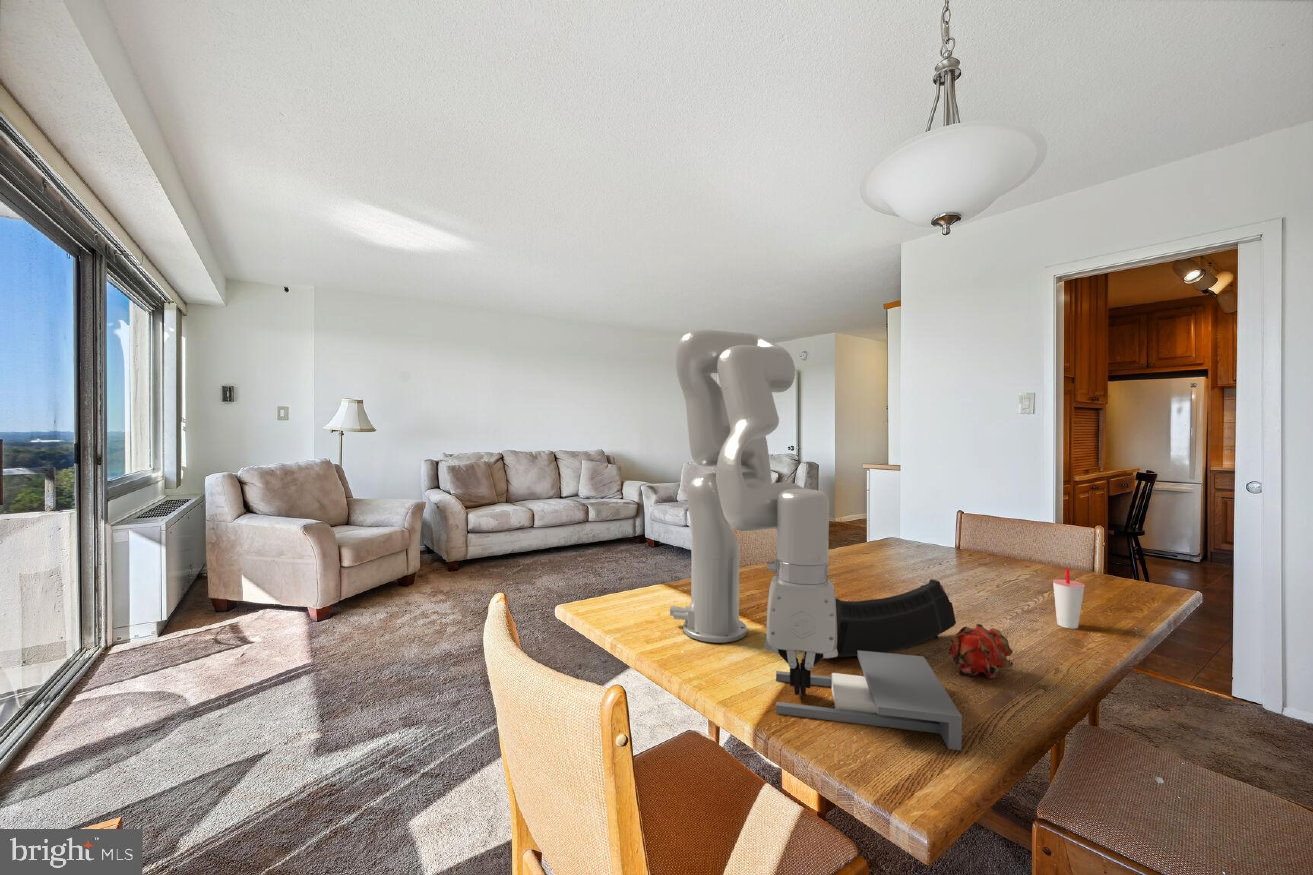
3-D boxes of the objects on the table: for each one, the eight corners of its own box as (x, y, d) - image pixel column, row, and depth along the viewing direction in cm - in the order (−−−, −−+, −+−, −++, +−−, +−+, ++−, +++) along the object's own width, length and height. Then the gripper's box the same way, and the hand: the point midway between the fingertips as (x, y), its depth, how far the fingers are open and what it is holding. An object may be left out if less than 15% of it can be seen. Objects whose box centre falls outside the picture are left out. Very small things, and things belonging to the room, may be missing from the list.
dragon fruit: (1007, 676, 92) (962, 701, 86) (966, 634, 97) (922, 655, 92) (1036, 649, 86) (991, 674, 81) (991, 606, 92) (946, 627, 87)
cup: (1046, 623, 112) (1047, 566, 111) (1059, 619, 114) (1061, 563, 114) (1075, 632, 107) (1077, 573, 107) (1089, 627, 109) (1090, 569, 109)
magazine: (818, 614, 90) (942, 547, 102) (805, 608, 94) (927, 543, 105) (840, 706, 93) (959, 630, 104) (827, 697, 96) (944, 624, 107)
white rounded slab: (836, 715, 76) (836, 697, 76) (831, 688, 84) (831, 672, 84) (920, 726, 73) (920, 708, 73) (907, 697, 81) (907, 680, 81)
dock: (775, 726, 73) (776, 695, 73) (776, 668, 90) (776, 642, 90) (961, 750, 68) (962, 716, 68) (923, 683, 85) (923, 656, 85)
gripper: (750, 574, 78) (748, 697, 79) (858, 582, 75) (855, 710, 76) (752, 561, 86) (750, 674, 86) (850, 568, 83) (848, 684, 83)
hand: (799, 690), depth 81 cm, fingers closed
